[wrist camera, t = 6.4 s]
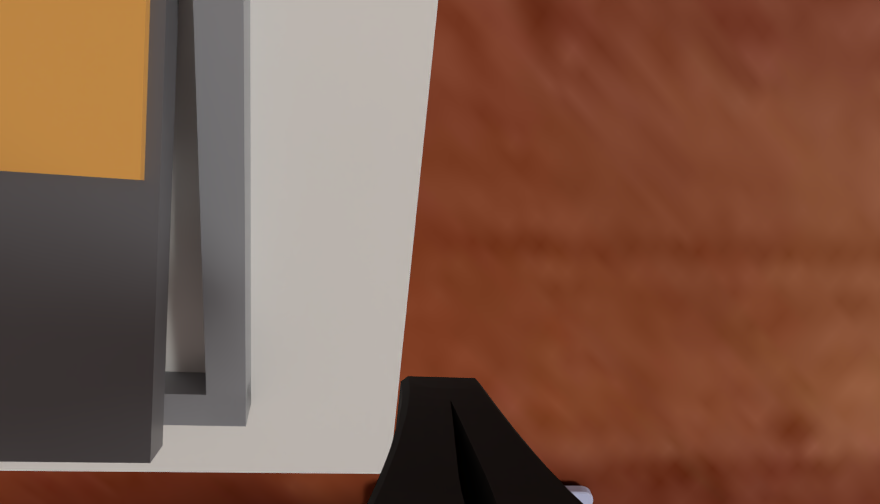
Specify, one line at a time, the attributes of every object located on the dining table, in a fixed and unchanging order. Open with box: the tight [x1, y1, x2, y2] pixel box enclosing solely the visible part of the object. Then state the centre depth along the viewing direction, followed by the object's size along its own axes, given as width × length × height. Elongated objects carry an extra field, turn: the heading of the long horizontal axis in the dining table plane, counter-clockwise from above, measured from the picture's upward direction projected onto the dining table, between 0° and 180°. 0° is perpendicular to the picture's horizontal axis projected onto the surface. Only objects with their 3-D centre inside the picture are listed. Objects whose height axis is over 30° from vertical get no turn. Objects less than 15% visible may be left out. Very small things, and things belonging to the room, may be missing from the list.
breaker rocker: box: [0, 0, 179, 463], centre depth 14 cm, size 10×5×1 cm, turn 173°
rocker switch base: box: [0, 0, 438, 474], centre depth 17 cm, size 18×16×4 cm
